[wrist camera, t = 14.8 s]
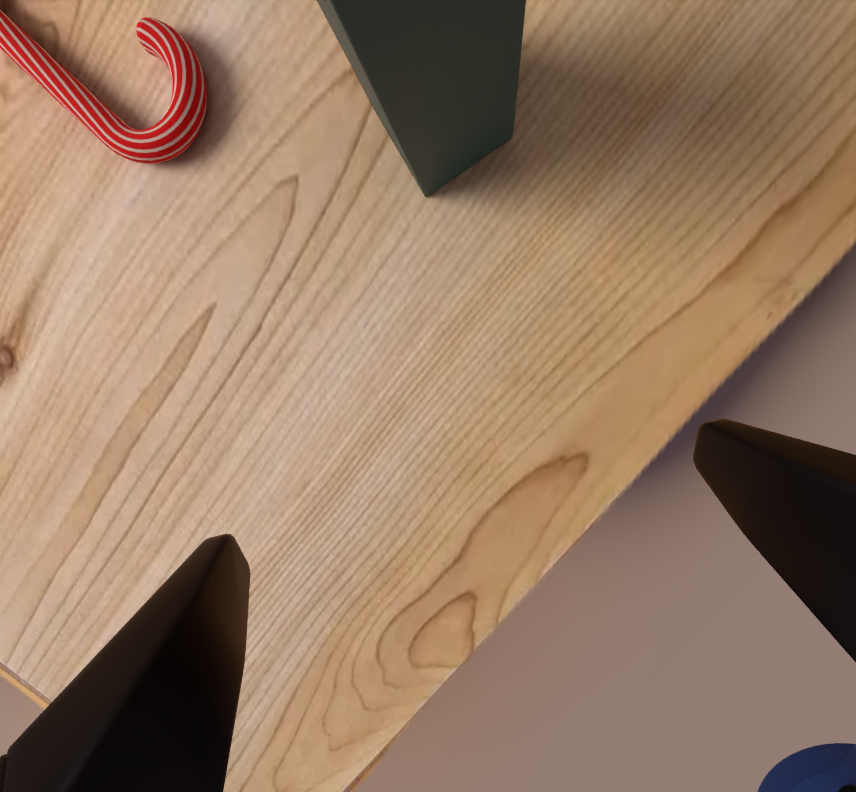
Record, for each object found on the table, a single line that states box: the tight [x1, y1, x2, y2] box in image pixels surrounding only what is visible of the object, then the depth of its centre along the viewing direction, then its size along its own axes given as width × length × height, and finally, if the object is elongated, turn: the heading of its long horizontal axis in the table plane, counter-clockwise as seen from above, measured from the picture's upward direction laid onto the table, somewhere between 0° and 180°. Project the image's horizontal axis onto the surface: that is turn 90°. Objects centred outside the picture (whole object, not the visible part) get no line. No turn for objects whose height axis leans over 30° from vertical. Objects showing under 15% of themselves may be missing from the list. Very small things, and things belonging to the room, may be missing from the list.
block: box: [317, 0, 526, 197], centre depth 13 cm, size 4×4×12 cm
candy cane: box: [0, 10, 207, 164], centre depth 20 cm, size 6×15×2 cm, turn 49°
